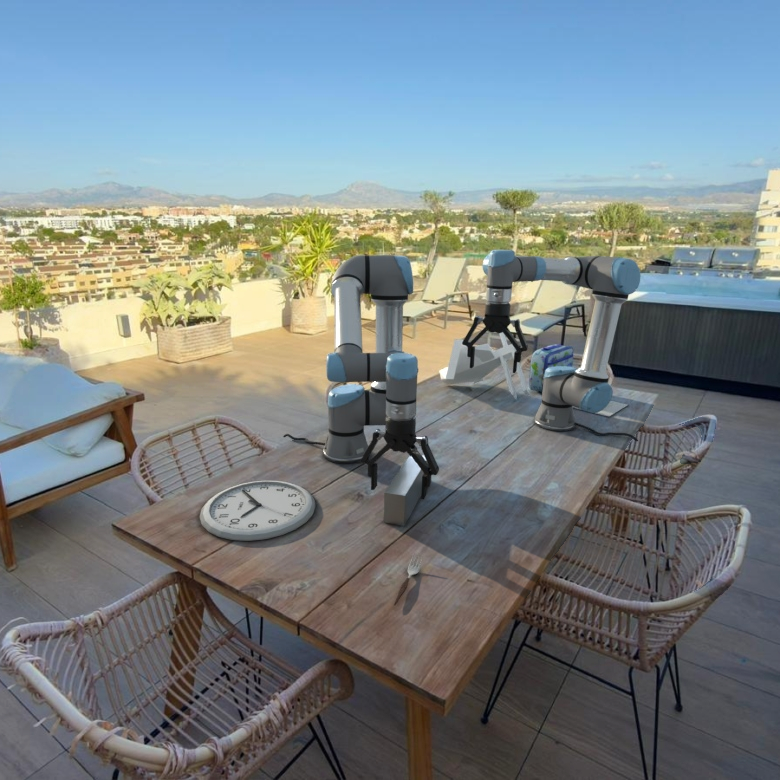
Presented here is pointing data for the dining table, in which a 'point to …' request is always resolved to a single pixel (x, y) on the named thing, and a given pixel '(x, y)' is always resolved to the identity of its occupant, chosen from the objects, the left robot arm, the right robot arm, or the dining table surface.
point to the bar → (403, 493)
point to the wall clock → (257, 510)
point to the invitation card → (611, 408)
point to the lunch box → (548, 363)
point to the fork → (412, 571)
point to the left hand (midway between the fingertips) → (398, 492)
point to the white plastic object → (481, 364)
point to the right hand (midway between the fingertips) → (492, 369)
